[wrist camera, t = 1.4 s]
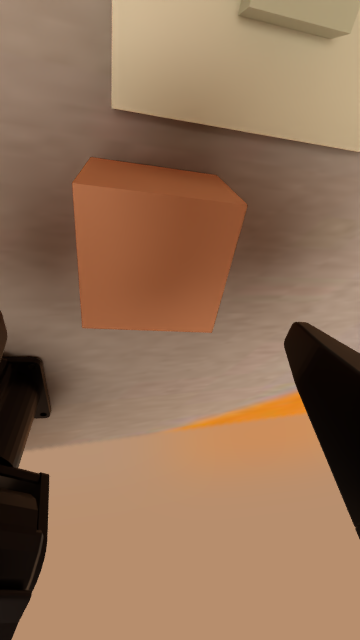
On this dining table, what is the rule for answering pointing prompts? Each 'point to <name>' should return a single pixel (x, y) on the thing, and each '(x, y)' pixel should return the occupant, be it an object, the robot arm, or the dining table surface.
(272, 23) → the cream flat block
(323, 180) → the dining table surface
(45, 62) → the dining table surface
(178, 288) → the brick
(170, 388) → the dining table surface
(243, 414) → the dining table surface
